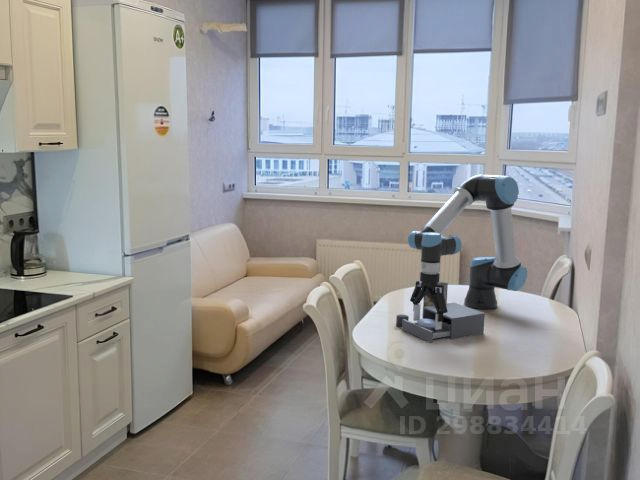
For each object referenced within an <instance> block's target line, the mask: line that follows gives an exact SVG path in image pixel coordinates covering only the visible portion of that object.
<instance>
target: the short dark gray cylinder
mask: <svg viewBox="0 0 640 480" xmlns="http://www.w3.org/2000/svg"><path fill="white" fill-rule="evenodd" d="M395 319H396V320H395V321H396V322H395V325H396V327H398V328H402V319H405V320H407V321H409V319H410V318H409V315H407V314H396V318H395Z"/></svg>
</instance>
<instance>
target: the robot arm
mask: <svg viewBox="0 0 640 480" xmlns="http://www.w3.org/2000/svg"><path fill="white" fill-rule="evenodd" d="M519 189H520V188H519V185H518V183H517V180H515V178H513V177H511V176H510V175H509V176H508V175H507V176H506V175H504V174H503V175H502V174H500V175H497V174H483V173H480V174H476V175H472V176H470V177H469V178H467V179H466V180H464V181H463V182H461V183H460V184H459V185H458V186H457V187H456V188H455V189H454V190H453V194H452V195H451V196H450V198H449V199H447V201H446V202H445V203H444V204H443V205H442V206H441V207H440V208H439V210H438V211H437V212H436V213H435V214H434V215H433V216H432V217H431V218H430V219H429V220H428V221H427V222H426V224H425V225H423V227H422V228H421V229H420V230H413V231H411V232H410V233H409V234H408V237H407V244H408V246H409V247H410V248H412V249H415V250H417V251H421V255H420V273H419V280H416V281H415V287H414V289H413V291H412V294H411V296H410V298H409V300H410V302H412V305H413V310H412V311H413V321H414V322H417V320H419V319H421V302H422V301H423V300H424V296H425V295H428V296H430V298H431V299H432V301H433V303H434V306H435V308H436V310H437V313H436V318H435V330H439V329H442V321H443V314H444V313H447V307H446V303H445V299H444V295H443V288H442V287H441V288H438V287H437V284H438V282H440V276H441V275H440V271H441V257H443V256H450V255H451V256H452V255H456V254H457V253H459V252H460V251H461V249H462V241H461V239H460V238H459V237H458V236H457V235H451V234H450V235H443V233H444V231H445V230H447V228H449V226H450V225H451V224H452V223H453V221H454V220H455V219H456V218H457V217H458V216H459V215H460V214H461V213H462V212H463V211H464V210H465V209H466V207H468V206H471V205H472V204H473V203H474V202H478V201H480V202H485V204H486V205H485V206H486V209H487V210H488V211H490V218H491V224H492V225H491V226H492V233H493V241H494V250H495V256H496V257H495V256H479V257H474V258H472V259H471V261H470V266H469V283H468V284H469V285H468V290H467V292H466V296H465V298H464V301H463V302H464V304H463V305H464V306H466V307H469V308H471V309H476V310H477V309H478V310H493V309H497V307H498V300H497V298H496V297H497V296H496V293H495V292H496V291H495V288H498V289H502V290H503V289H504V290H507V291H513V292H517V291H520V290H522V288H523V287H524V286H525V284H526V282H527V280H528V279H527V278H528V270H527V268H526V267H525V266H523V265H522V263H521V262H522V261H521V259H520V258H519V257H518V256H517V251H516V249H517V248H516V241H515V233H514V231H515V230H514V223H513V215H512V213H513V212H512V208H513V207H514V205H515V203H516V202H517V200H518V198H519V193H520V192H519ZM434 294H435V295H434Z"/></svg>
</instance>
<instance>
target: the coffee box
mask: <svg viewBox="0 0 640 480" xmlns="http://www.w3.org/2000/svg"><path fill="white" fill-rule="evenodd" d="M448 284H449V283H448V282H443V281H439V282H438V284H437V287H438V288H441V287H442V288H443V295H444V299H445V303H446V304H447V303H448ZM434 295H435V294H434ZM422 301H423V303H422V308H423V307H427V306H434V303H433V301H432V299H431V298H430V296H428V295H425V296H424V297H423V300H422Z"/></svg>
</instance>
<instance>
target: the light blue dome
mask: <svg viewBox="0 0 640 480" xmlns="http://www.w3.org/2000/svg"><path fill="white" fill-rule="evenodd" d="M416 322H417V325H419V326H421V327H424V328H429V329H430V328H435V320H433V319H423V318H420V319H419V320H417V321H416Z"/></svg>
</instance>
